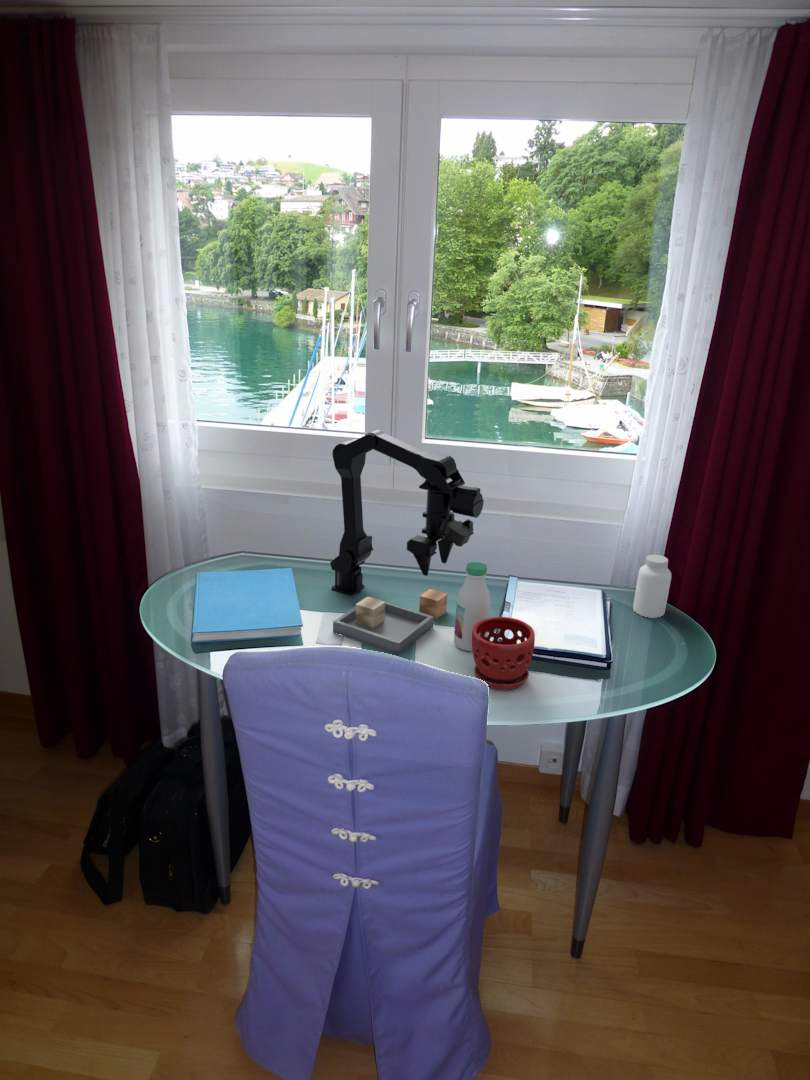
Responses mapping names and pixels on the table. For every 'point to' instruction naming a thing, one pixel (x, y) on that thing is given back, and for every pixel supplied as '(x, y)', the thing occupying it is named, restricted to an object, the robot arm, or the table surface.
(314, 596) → the table surface
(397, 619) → the charcoal tray
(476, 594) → the milk bottle
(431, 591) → the terracotta block
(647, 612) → the pill bottle
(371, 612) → the birch block
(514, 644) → the plant pot
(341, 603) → the table surface
